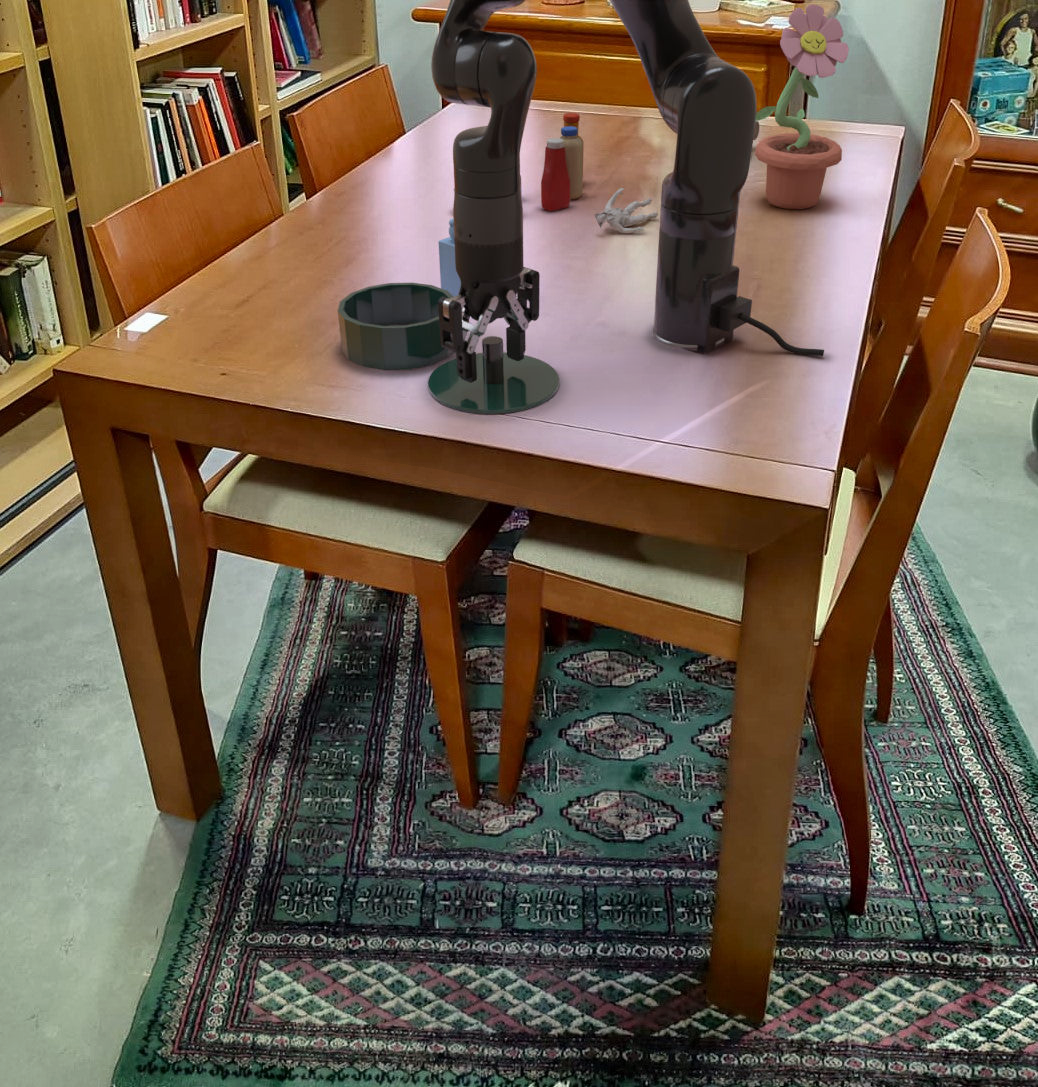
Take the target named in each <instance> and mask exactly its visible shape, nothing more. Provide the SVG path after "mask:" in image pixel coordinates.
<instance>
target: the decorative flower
mask: <svg viewBox="0 0 1038 1087" xmlns="http://www.w3.org/2000/svg"><path fill="white" fill-rule="evenodd" d="M824 14H825V9H824V7H823V6H821V5H818V4H814V3H813V4H809V5H807V6H806V7H805V12H804V9H803V8H801V7H797V8H795V9H794V10H793V11H792V12H791V14H790V15H789V17H788V24H789V25H790V26H791V28H789V27H784V28H783V30H782V33H781V39H780V40H779V45H780V48H781V50H782V52H783V54H784V56H785V57H786V60H787V61H788V62H789V63H790V65H791V66H793V67H794V69H793V71H792V73H791V75H790V77H789V79H788V81H787V83H786V84H785V86H784V88H783V90H782V92H781V94H780V96H779V97H778V98H779V99H778V100H777V103H776V106H775V105H774V106H771V105H770V106H765V107H763V108H761V109H759V110H758V111H756V121H758V122H759V121H762V120H764V119H767V118H769V117H770V116H771V115H772V114H773V113H774V121H775V122H776V124H777V125H778V126H779V127H783V128H790V129H791V128H792V129H793V130H795V131H797V133H796V132H795V133H794V132H785V133H777V134H773V135H768V136H766V137H763V138H762V139H761V140H759V141H758V143H757V144H756V147H755V152H754V156H755V158H756V159H757V160H758V161H760V162H761V163H764V164H766V181H765V196H766V197H765V198H766V200H767V202H768V203H769V204H770V205H771V206H775V207H777V208H781V209H785V210H786V209H787V210H804V209H810V208H811V207H813V206H815V205H817V204H818V202H819V200H820V198H821V194H822V190H823V186H824V182H825V177H826V174H827V173H826V172H827V169H828V168H830V167H834V166H836V165H838V164H839V163H840V162H841V161H842V159H843V158H842V157H843V150H842V147H841V146H840V144H838V143H837V142H836V141H835V140H832V139H830V138H828V137H826V136H823V135H817V134H813V133H812V134H811V129H810V126H809V125H808V124H807V123H806V122H805V121H804V120H803V119H804V118H805V110H804V108H800V109H799V110H798V112H797V114H796V116H794V115H787V110H788V107H789V105H790V102H791V100H792V98H793V96H794V94H795V92H796V90H797V88H798V87H799V85H800V83H801V87H802V89H803V91H804V92H805V93H806V94H807V95H809V96H810V97H811V98H815V99H819V92H818V90H817V88H816V87H815V85H814V83H813V82H811V80H809V79H808V78H805V77H804V75H806V76H808V77H815V76H818V78H821V79H825V78H827V77H831V76H832V77H833V76H834V75H835V73H836V71H837V68H836V66H837V63H841V64H844V63H845V61H846V60H847V58H848V55H849V51H850V49H849V45H848V43H847V42H842V38H843V37H844V30H843V26H842V25H841V22H840V21H839V20H838V19H837V18H835V17H830V18H828V17H827V16H825V15H824ZM792 28H793V29H792Z"/></svg>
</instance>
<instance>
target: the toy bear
mask: <svg viewBox="0 0 1038 1087" xmlns="http://www.w3.org/2000/svg"><path fill="white" fill-rule="evenodd" d="M448 225H449V227H448V236H449V237H446V238H443V239H440V240H438V259H439V275H440V288H441V289H444V290H447V291H448V292H449V293H450V294H451V295H453V296H454V297H455V296H457V295H458V294H459V290H460V287H461V280H460V278H459V276H458V274H457V272H456V266H455V243H454V221H453V218H450V219H449V221H448Z"/></svg>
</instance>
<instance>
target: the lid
mask: <svg viewBox="0 0 1038 1087" xmlns="http://www.w3.org/2000/svg"><path fill="white" fill-rule="evenodd" d="M481 350H482V352H480V353H478V352H477V353H476V366H477V380H476V381H474V382H472V383H470V382H467V381H465V380H463V379H461V378H460V376H458V373H457V361H456V358H453V359H451V360H448V361H446V362H444V363H443V364H441V365H439V366H437V367H436V368H435V369H434V370H433V371H432V373H430V375H429V376H428V381H427V387H428V392H429V394H430V395H431V396H432V398H433V399H434V400H435V401H437V402H438V403H440V404H441V405H444V406H445V407H448V408H450V409H453V410H457V411H460V412H465V413H471V414H480V415H502V414H512V413H517V412H521V411H526V410H529V409H532V408H535V407H538V406H540V405H542V404H544V403H546V402H547V401H549V400H551V398H553V397H554V396H555V394H556V393H557V392H558V390H559V387H560V375H559V374H558V372H557V370H556V369H555V367H553V366H552V365H550V364H549V363H548V362H546V361H544V360H541V359H539V358H536V357H533V356H530V355H526V354H524V359H522V360H520V361H515V360H513V359H510V358H509V357H508V356H507V352H504V339H503V338H502V337H500V336H497V335H490V336H486V337H484V338H482V340H481Z"/></svg>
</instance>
